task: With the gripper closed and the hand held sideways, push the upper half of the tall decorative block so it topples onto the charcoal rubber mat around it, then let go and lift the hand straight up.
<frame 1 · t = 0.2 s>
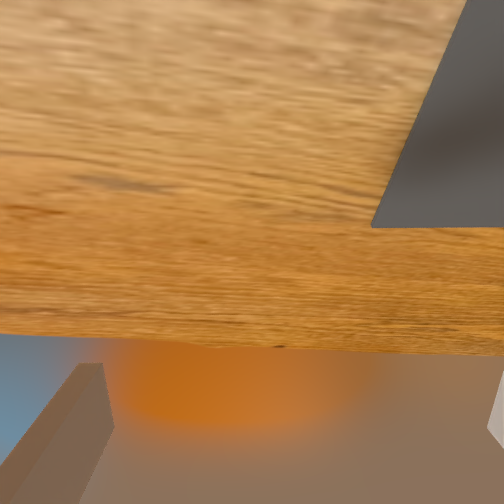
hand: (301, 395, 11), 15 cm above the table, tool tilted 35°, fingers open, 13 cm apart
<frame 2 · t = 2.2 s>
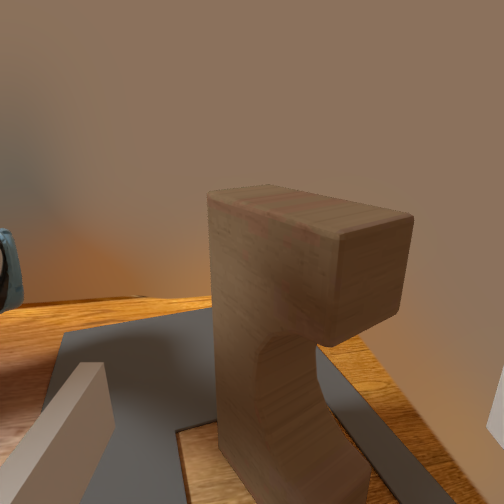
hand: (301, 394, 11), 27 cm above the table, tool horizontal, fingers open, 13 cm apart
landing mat: (283, 481, 36), on the table
decorative block: (283, 482, 36), resting in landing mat
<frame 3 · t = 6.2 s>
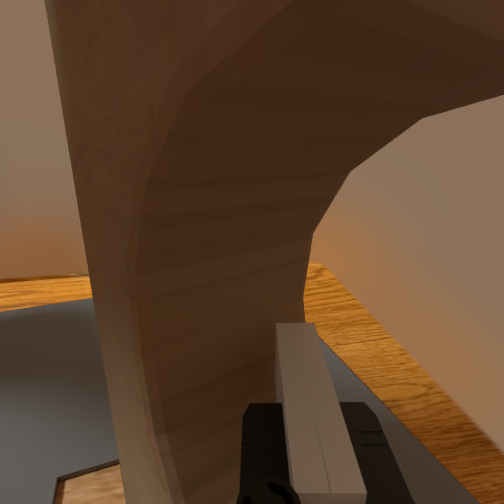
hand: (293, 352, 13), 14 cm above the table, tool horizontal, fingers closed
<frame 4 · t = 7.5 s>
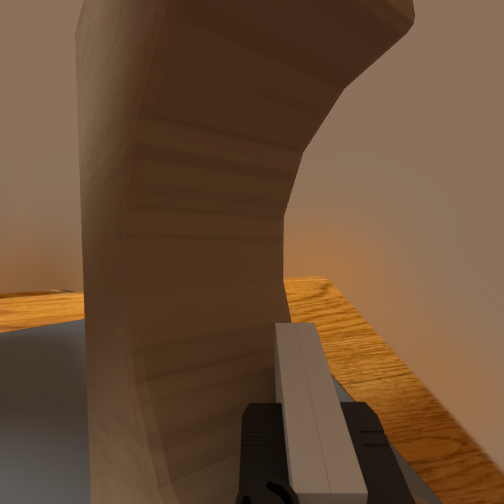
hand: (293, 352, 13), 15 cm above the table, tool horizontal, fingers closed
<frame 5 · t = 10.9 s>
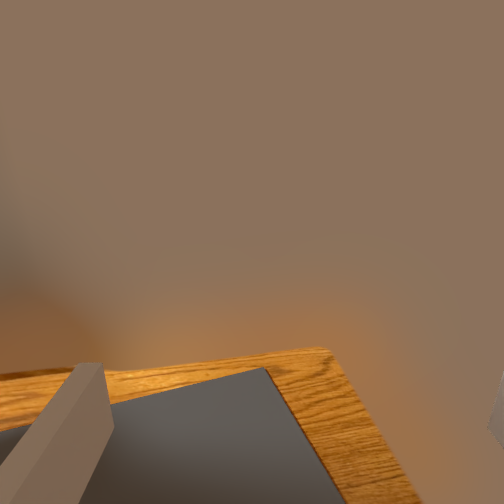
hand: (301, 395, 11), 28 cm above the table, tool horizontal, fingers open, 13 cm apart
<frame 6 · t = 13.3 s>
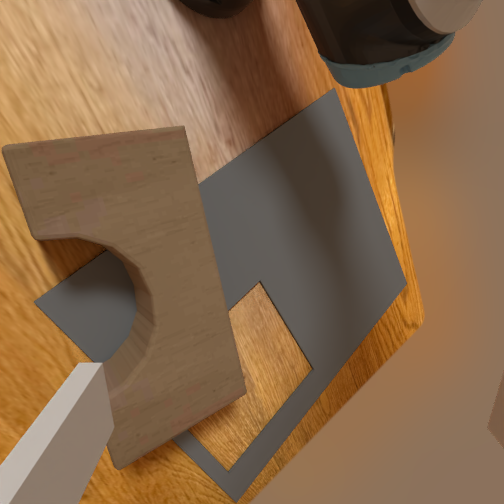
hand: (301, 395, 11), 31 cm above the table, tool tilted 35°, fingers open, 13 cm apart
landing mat: (243, 376, 49), on the table
decorative block: (177, 414, 38), point 5 cm above the table, touching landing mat
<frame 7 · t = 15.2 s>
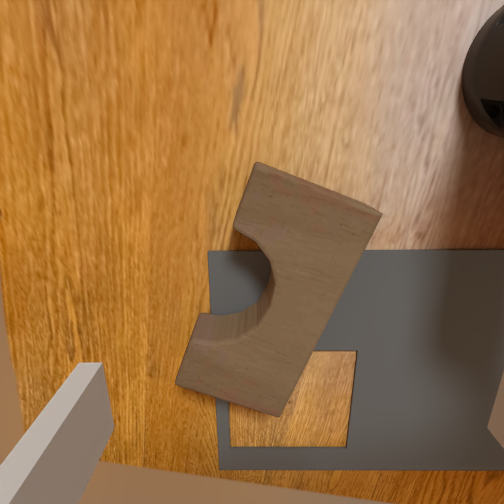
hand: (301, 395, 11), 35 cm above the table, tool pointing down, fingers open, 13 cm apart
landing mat: (289, 401, 55), on the table
decorative block: (229, 384, 48), point 5 cm above the table, touching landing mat
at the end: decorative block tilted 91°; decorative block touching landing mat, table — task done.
